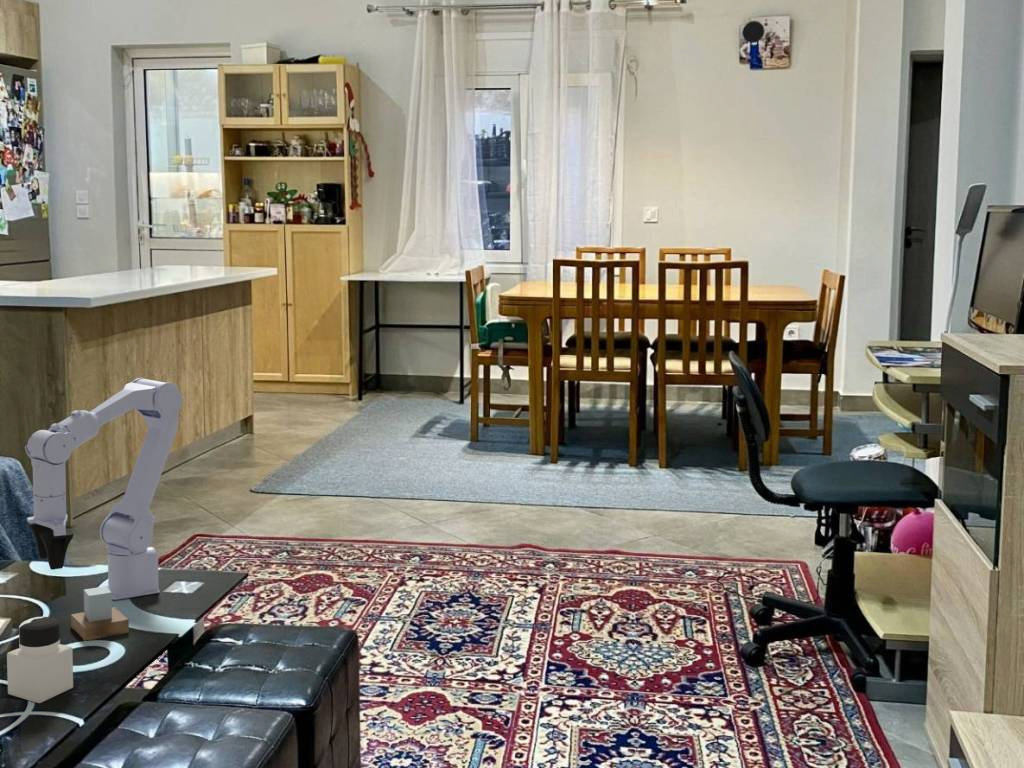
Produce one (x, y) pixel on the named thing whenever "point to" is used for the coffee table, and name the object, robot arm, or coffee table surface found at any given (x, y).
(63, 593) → the coffee table surface
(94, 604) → the cube
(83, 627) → the base slab
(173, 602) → the coffee table surface
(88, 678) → the coffee table surface
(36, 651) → the medicine bottle
